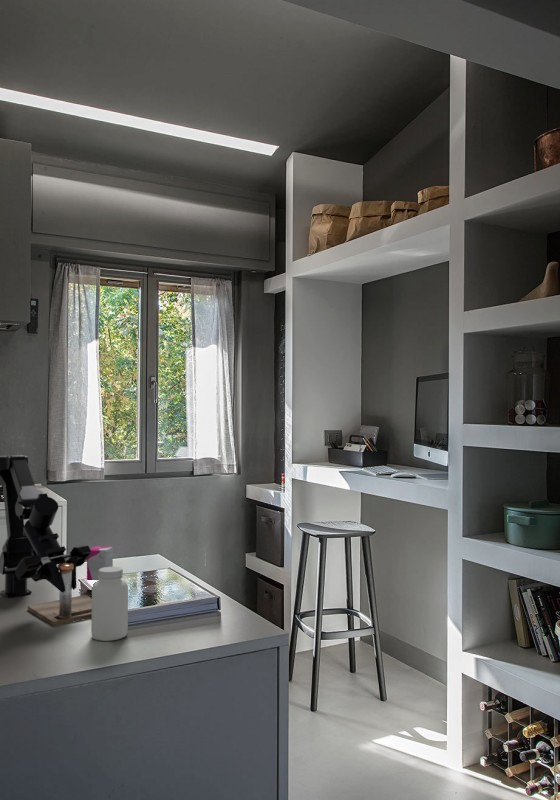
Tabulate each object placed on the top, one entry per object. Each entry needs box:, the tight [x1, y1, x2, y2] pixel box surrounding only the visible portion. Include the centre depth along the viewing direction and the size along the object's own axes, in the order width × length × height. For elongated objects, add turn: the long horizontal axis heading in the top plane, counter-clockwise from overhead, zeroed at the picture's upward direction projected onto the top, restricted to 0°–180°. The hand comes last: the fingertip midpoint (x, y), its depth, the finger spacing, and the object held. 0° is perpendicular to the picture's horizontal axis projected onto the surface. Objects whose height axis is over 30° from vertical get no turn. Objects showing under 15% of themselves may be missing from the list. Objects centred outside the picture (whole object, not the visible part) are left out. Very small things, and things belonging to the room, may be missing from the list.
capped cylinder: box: [57, 563, 74, 619], centre depth 159 cm, size 4×4×13 cm
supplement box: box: [86, 546, 114, 581], centre depth 188 cm, size 6×6×12 cm
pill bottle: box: [90, 566, 129, 642], centre depth 149 cm, size 8×8×15 cm
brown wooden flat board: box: [27, 594, 92, 627], centre depth 166 cm, size 16×16×1 cm
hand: (69, 590), depth 159 cm, fingers closed on capped cylinder, 3 cm apart
